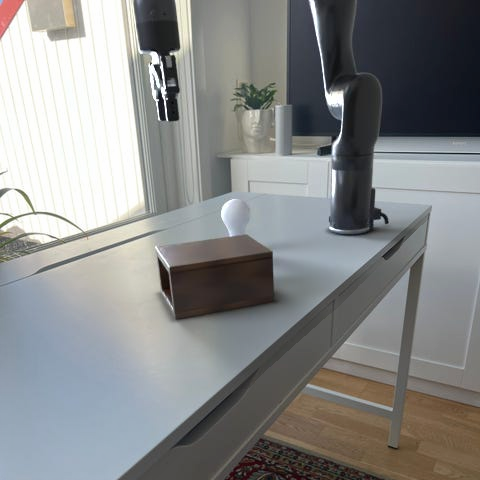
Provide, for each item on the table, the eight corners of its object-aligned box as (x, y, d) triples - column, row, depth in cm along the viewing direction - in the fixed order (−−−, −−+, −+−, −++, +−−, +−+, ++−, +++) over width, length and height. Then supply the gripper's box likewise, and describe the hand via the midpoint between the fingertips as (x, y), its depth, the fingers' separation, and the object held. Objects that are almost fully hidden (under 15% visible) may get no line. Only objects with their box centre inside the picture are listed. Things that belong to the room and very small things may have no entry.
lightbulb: (223, 248, 106) (219, 197, 101) (250, 245, 106) (248, 195, 102) (224, 255, 100) (221, 202, 96) (253, 253, 101) (251, 200, 96)
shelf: (248, 278, 86) (246, 234, 83) (274, 301, 76) (272, 251, 73) (161, 293, 82) (155, 246, 79) (175, 319, 72) (169, 267, 68)
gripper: (185, 13, 79) (196, 119, 86) (169, 27, 91) (180, 119, 98) (140, 15, 77) (155, 123, 84) (130, 28, 89) (143, 122, 96)
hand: (168, 121), depth 91 cm, fingers open, 8 cm apart
